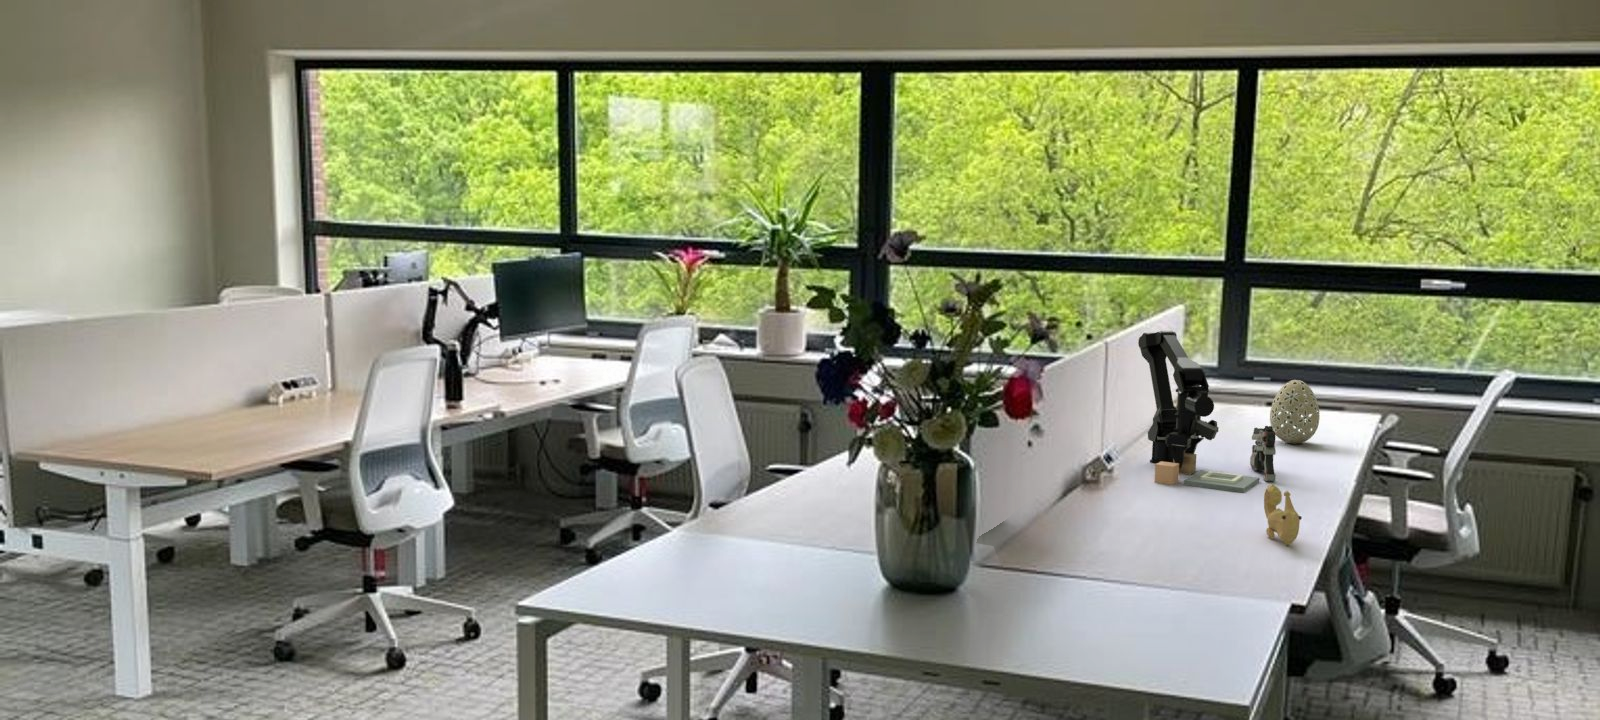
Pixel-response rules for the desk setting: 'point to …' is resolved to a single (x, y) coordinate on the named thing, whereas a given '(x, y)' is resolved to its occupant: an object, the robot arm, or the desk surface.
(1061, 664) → the desk surface
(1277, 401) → the ornament
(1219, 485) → the blueprint plate
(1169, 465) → the terracotta block
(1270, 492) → the toy
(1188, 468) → the walnut block
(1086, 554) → the desk surface
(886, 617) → the desk surface
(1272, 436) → the toy blaster
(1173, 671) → the desk surface
